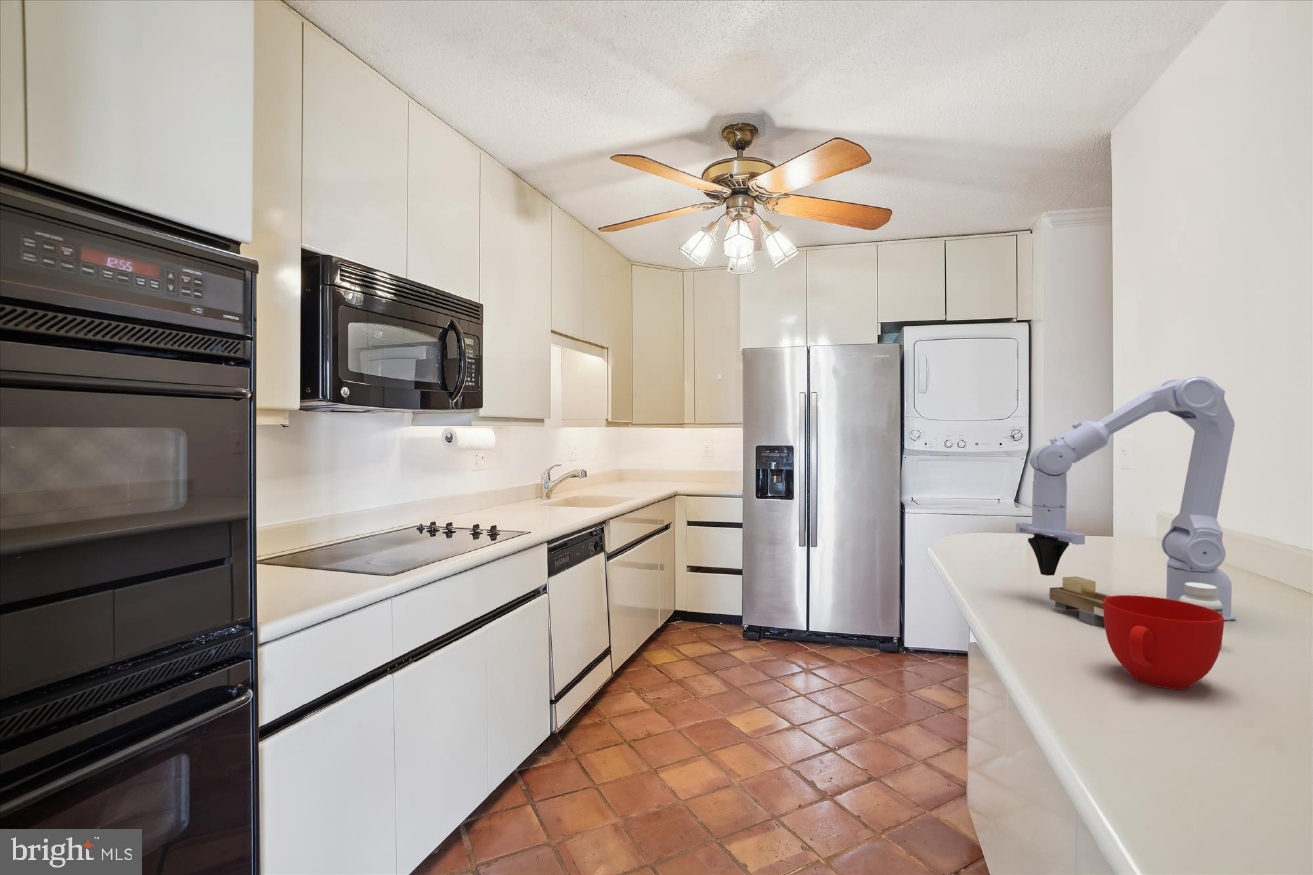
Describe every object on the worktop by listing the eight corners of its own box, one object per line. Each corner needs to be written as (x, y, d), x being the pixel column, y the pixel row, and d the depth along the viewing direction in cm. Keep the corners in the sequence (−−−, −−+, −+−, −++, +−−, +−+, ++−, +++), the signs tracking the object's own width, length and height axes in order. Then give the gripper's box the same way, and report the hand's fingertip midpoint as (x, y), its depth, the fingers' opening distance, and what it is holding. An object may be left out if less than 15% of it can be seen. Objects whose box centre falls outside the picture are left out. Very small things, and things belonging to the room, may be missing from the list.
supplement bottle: (1185, 637, 106) (1186, 579, 106) (1227, 646, 101) (1228, 586, 101) (1172, 642, 103) (1173, 583, 103) (1215, 652, 98) (1216, 590, 98)
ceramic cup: (1076, 682, 86) (1077, 608, 86) (1119, 656, 96) (1121, 590, 96) (1198, 717, 76) (1200, 634, 76) (1233, 683, 86) (1235, 610, 86)
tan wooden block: (1076, 593, 121) (1076, 576, 121) (1095, 598, 117) (1095, 581, 117) (1062, 594, 120) (1062, 577, 120) (1080, 599, 116) (1081, 582, 116)
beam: (1077, 607, 123) (1077, 586, 122) (1166, 636, 106) (1166, 611, 106) (1047, 609, 121) (1047, 587, 121) (1132, 638, 104) (1132, 613, 104)
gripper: (1003, 501, 131) (1002, 567, 131) (1063, 510, 117) (1061, 584, 117) (1032, 501, 133) (1031, 566, 133) (1094, 510, 118) (1093, 582, 119)
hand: (1047, 574), depth 125 cm, fingers closed
